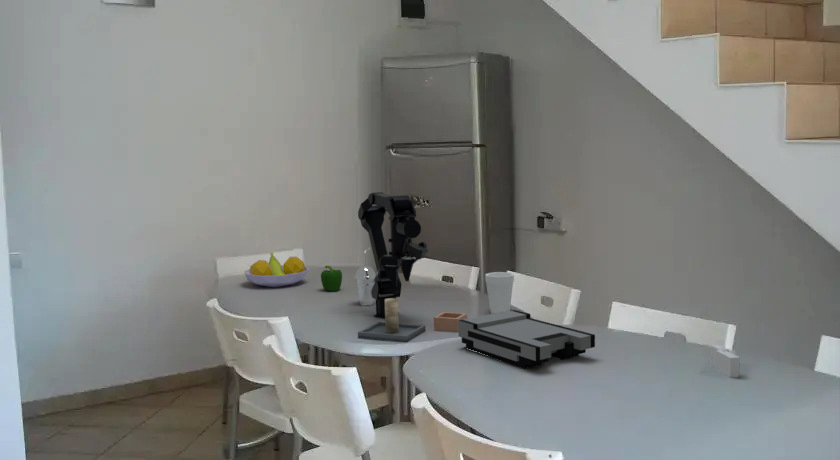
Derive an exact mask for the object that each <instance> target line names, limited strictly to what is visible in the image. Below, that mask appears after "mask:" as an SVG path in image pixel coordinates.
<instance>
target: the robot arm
mask: <svg viewBox="0 0 840 460" xmlns="http://www.w3.org/2000/svg"><path fill="white" fill-rule="evenodd" d="M386 212H387V213H388V215H389V216H388V220H389V221H390V223H389V224H390V225H389V226H390V237H389V238H388V239H387V241H388V243H390V251H388V250H387V249H388V248H387V245H386V241H385V237H384V233H383V229H382V227H383V225H384V222H385V215H386ZM357 216H358V220H359V221H360V224H361V227H363V228H364V230H366V231H367V233H368V234H367V235H368V238H369V242H370V246H371V247H370V248H371V251H372V254H373V260H374V263H375V268H376V273H375V274H376V276H375V279H374V282H375V283H374V285H373V288H372V290H371V295H372V298H373V300H374V299H375V314H374V315H373V317H375V318H377V317H379V318H385V299H388V298H396V299H397V298H400V297H401V292H402V281H401V279H400V276H399V270H400V269H401V272H402V275H403V278H404V281H405V282H409V281H410V277H411V273H412V270H413V267H414V264H415V263H416V262H418V261H420V260H422V259H424V258H425V256H426V253H428V246H427V243H426V242H425V241H420V242H419V243H414V242H413V239H416V238H417V237H419V235H420V234H421V231H422V226H421V224H420V222H419V220H416V217H417V210H416V208H415V206H414V204H413V201H412V199H411V198H410V195H409V194H403V195H392V194H387V193H385V192H383V191H380V192H379V191H378V192H371V193H369V194H368V196H367V198H366V199H365V200H363V202H361V203H360V205H359V208H358V211H357ZM399 314H400V312H399V311H398V315H399Z"/></svg>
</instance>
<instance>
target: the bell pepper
mask: <svg viewBox="0 0 840 460" xmlns="http://www.w3.org/2000/svg"><path fill="white" fill-rule="evenodd" d="M324 268H325V270H324V269H323V271H321V273H320V281H321V284H322V288H323V291H326V292H339V290H340V289H341V286H342V281H343V273H342V271H341V269H333V267H332V266H331V265H325V266H324ZM327 268H328V269H329V270H327Z"/></svg>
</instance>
